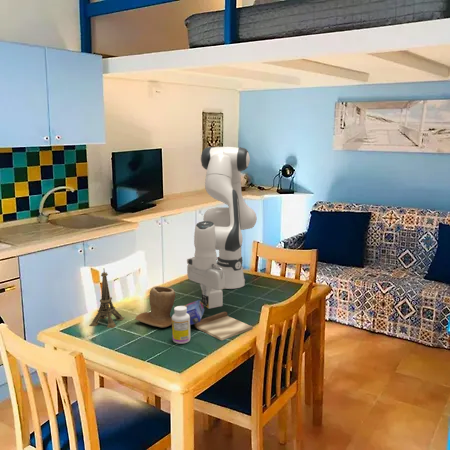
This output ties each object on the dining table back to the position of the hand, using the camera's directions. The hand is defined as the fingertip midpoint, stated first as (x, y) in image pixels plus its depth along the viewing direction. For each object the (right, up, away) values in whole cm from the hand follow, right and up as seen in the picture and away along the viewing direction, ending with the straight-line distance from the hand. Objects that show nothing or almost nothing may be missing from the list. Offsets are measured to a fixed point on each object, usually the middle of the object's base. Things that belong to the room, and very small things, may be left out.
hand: (206, 295), depth 203 cm
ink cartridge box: (-6, -6, +4) cm, 9 cm away
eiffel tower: (-41, -12, +2) cm, 42 cm away
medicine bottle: (+2, -7, +19) cm, 21 cm away
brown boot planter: (-19, -12, 0) cm, 23 cm away
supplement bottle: (-9, -15, -17) cm, 24 cm away
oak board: (+6, -12, -5) cm, 15 cm away
